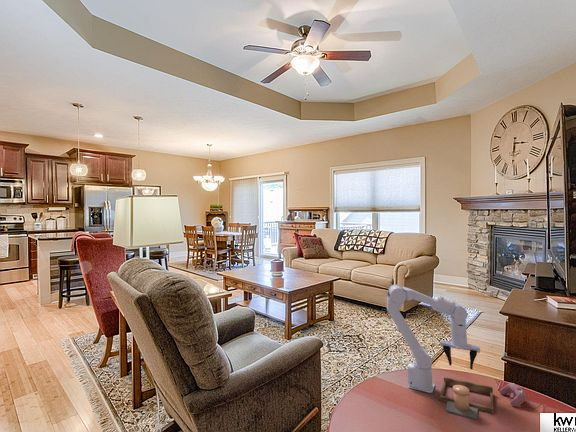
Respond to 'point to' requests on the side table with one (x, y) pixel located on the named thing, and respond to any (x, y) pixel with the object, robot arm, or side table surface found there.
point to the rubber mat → (470, 414)
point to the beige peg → (461, 397)
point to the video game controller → (514, 394)
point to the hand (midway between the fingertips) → (460, 366)
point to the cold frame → (471, 387)
